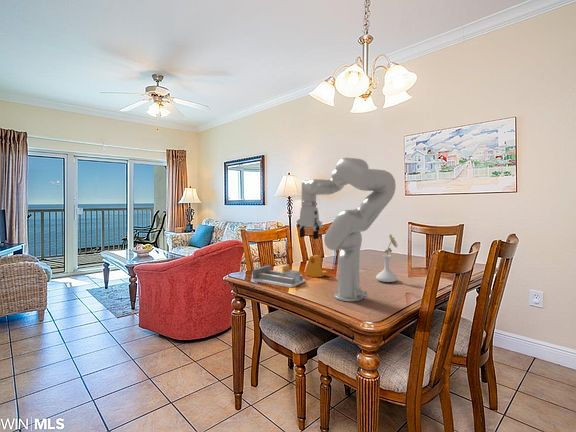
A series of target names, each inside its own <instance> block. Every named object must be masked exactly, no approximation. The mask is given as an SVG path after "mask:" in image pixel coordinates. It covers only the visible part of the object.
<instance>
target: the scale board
mask: <svg viewBox="0 0 576 432" xmlns="http://www.w3.org/2000/svg"><path fill="white" fill-rule="evenodd" d="M279 275H282V271H278V270H272V265H271V264H267V265H264V266H260V267H257V268H254V269H252V281H253V282H258V283H262V284H263V283H264V284H269V285H274V286H279V287H285V288H293V287H296V286H298V285H301V284H303V283H305V282H306V279H304V275H302V274H300V281H298V282H296V283H295V279H294V278H289V277H283V276H281V277H279Z"/></svg>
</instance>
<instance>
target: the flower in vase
mask: <svg viewBox="0 0 576 432" xmlns="http://www.w3.org/2000/svg"><path fill="white" fill-rule="evenodd" d="M388 236H389V237H388V238H389V239H390V242H389V245H388V247H387V249H385V250H384V253H386V254H382V255H381V256H382V258H383V261H384V268H383V269H382V271H380V272H378V273H377V274H376V275H375V278H376V280H378V281H379V282H384V283H393V282H396V281H398V280H399V278H398V276H397V275H396V274H395V273H394V272H393V271H392V270H391V269H390V260H391V258H392V257H393V256H392V254H389V253H392V252H393V251H392V248H390V246H391V244H392V245H393V246H394V247H395V248H398V246H399V245H398V244H397V241H396V239H395V237H393V235H392V234H389V235H388Z"/></svg>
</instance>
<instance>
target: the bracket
mask: <svg viewBox="0 0 576 432" xmlns="http://www.w3.org/2000/svg"><path fill="white" fill-rule="evenodd" d="M321 263H322V257H321V256H320V254H319V255H318V254H314V255H311V256H310V257H309V258H308V261H307V264H306V267H305V275H308V277H311V278H312V277H313V278H321V277H325V276H327V275H328V270H323V269H322V266H321Z"/></svg>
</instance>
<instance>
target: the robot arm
mask: <svg viewBox="0 0 576 432" xmlns="http://www.w3.org/2000/svg"><path fill="white" fill-rule="evenodd" d="M348 184H349V185H350V186H352V187H354V188H355V189H357V190H359V191H363V192H366V191H367V192H368V191H369V192H370V194H368V195H367V196H366V197H365V198H364V199H363V200H362V202H361V203H360V204H359V205H358V206H357V208H354V209H345V210H343V211H340V213H338V214H337V215H336V216H335V219H334V220H333V221H332V223H331V224H330V226H328V229H327V230H326V232H325V234H324V237H323V239H324V241H323V242H324V244H325V246H326V248H327V249H329V250H330V251H339V252H338V255H337V292H335V293H334V295H333V296H334V298H335V299H336V300H338V301H342V302H360V301H362V300H363V299H364V298H369V293H368V291H364V290H363V289H362V287H360V261H361V260H360V259H361V257H360V254H361V253H360V252H361V247H362V240H363V237H362V236H363V235H362V233H361V232H366V231H367V230H368V229H369V228H370V227H371V226H372V225H373V223H374V222H375V221H376V220H377V218H379V215H380V214H381V213H382V212H383V210H384V209H385V208H386V207H387V206H388V204H390V202H391V200H392V199H393V197H394V196H395V192H396V188H397V187H396V180H395V176H394V175H393V174H392V172H389V171H387V170H384V169H377V168H376V169H375V168H369V165H368V163H367V161H365V159H364V160H363V159H362V158H355V157H343V158H341V159H339V160H338V162H337V163H336V164H335V168H334V169H333V170H332V172H331V178H330V179H319V178H314V179H310V180H302V182H301V206H300V213H299V219H297V220H296V224H297V227H298V230H299V238H305V236H306V230H305V228H306V227H308V228H312V229H313V232H312V235H313V238H312V239H313V240H319V231H320V230H321V228H322V225H323V222H322V221H320V217H319V216H320V215H319V209H318V207H317V205H318V203H317V195H318V196H320V195H321V196H324V195H325V196H328V195H329V196H330V195H333V194H335V193H338V192H339V191H341V190H342V189H343V188H344V187H345V186H346V185H348Z"/></svg>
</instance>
